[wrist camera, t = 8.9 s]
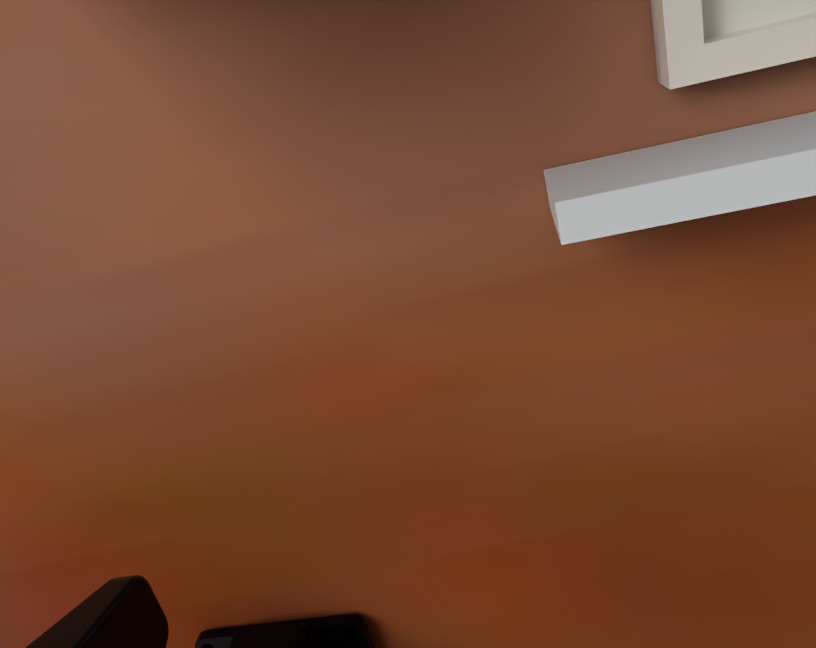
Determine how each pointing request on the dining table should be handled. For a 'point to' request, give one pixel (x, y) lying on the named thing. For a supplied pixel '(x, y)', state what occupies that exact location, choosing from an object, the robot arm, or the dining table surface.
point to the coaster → (728, 37)
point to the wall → (684, 179)
